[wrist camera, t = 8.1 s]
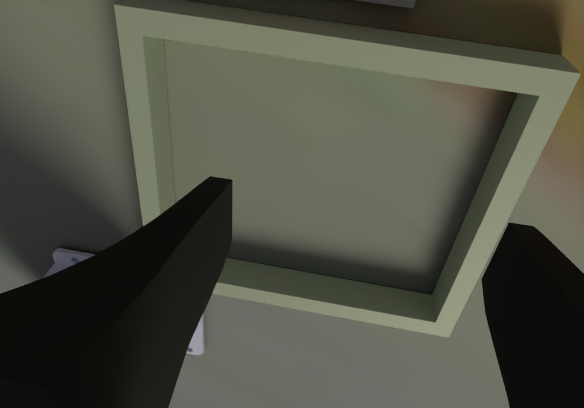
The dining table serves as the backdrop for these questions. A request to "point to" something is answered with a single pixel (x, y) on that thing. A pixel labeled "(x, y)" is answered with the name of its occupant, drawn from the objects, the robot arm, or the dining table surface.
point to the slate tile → (394, 2)
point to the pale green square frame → (363, 55)
